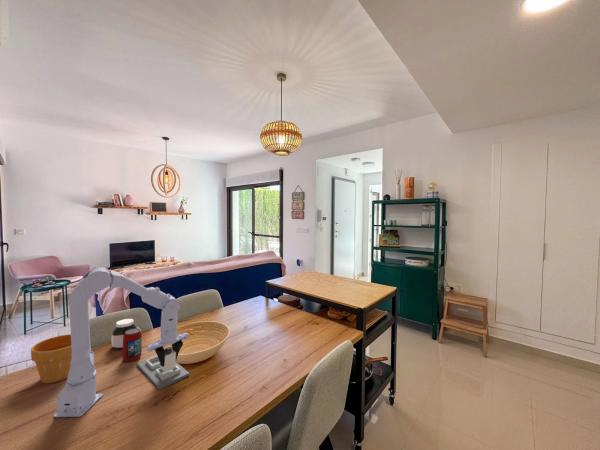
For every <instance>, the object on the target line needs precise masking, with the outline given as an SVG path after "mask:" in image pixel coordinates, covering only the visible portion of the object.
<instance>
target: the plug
mask: <svg viewBox="0 0 600 450" xmlns="http://www.w3.org/2000/svg"><path fill="white" fill-rule="evenodd" d="M164 350H166V352H165V358H164V366H163V367H162V366H161V365H160V368H161V369H162V370H163V371H164V372H166V371H168V370H171V369H173V368H175V367H176V362H177V360H176V352H175V351H174V350H172V346H168V347H165V348H164Z"/></svg>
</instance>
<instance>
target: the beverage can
mask: <svg viewBox="0 0 600 450" xmlns="http://www.w3.org/2000/svg"><path fill="white" fill-rule="evenodd" d="M138 328H139V327H138ZM138 328H134V329H129V330H127V331H126V332H125V334H124V336H123V349H122V360H123V361H124V362H134V361H136V360H138V359H139V358H140V357H141V356H142V347H143V346H142V343H143V342H142V341H143V340H142V339H143V332H142V330H141V328H140V329H138ZM140 330H141V331H140Z"/></svg>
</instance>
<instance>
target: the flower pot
mask: <svg viewBox="0 0 600 450" xmlns="http://www.w3.org/2000/svg"><path fill="white" fill-rule="evenodd" d="M30 358H31V361H32V362H34V363H35V365H36V368H37V372H38V376H39V378H40V381H41V383H42V384H53V383H57V382H60V381H63V380H65V379H67V378H68V373H69V370H70V362H71V359H72V346H71V333H70V334H63V335H58V336H53V337H50V338H47V339H44V340H42V341H39V342H37V343H35V344H34V345H33V346H32V347H31V348H30Z"/></svg>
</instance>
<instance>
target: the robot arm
mask: <svg viewBox="0 0 600 450" xmlns="http://www.w3.org/2000/svg"><path fill="white" fill-rule="evenodd" d="M108 287H109V289H110V290H111V289H116V288H121V289H123V290H126V291H128V292H131V293H133V294H135V295H137V296H139V297H141V301H142V303H145V304H148V305H149V306H151V307H154V308H156V309H158V310H159V309H160V310H161V316H160V338H159V339H158V340H156V341H154V342H153V343H150V344H148V345H147V346H146V347H147V348H146V350H147V351H146V352H147V353H151V352H153V351H154V352H155V353H156V356H158V358H159V362H160V365H161V366H162V367H163V366H164V358H165V352H166V350H165V348H164V347H166V346H170V345H171V347H172V350H174V351H175V352H176V361H177V359H178V356H179V353H180V351H181V349H182V347H183V346H184V342H183V341H184V340H188V339H189V333H187V332H183V333H178V321H179V320H178V317H179V316H178V311H179V310H180V308H181V305H180V303H179V301H178V300H177V298H176V297H174V296H173V295H171V293H165V292H163V291H161V289H160V287H158V286H156V287H153V286H150V287H145V286H144V285H141V284H140V283H139V282H137V281H135V280H133V279H130V278H129V277H128V276H126V275H123V274H122V273H120V272H117V271H115V270H112V269H109V268H107V267H104V266H96V267H93V268H92V269H90V270H89V271H87V272H86V273H84V274H83V276H82V277H81V279H80V280H79V281H78V283H77V284H76V285H75V287H74V288H73V289H72V291H71V292H70V294H69V296H68V306H69V310H68V311H69V322H70V323H69V324H70V334H71V346H72V359H71V362H70V370H69V373H68V377H67V378H66V382H65V383H66V384H65V385H64V387H63V388H62V389H61V390H60V392H58V394H57V396H56V413H54V414H53V417H54V418H70V417H71V418H73V417H75V418H78V417H82V416H83V415H84V414H85V413H86V412H87V411H88V410H89V409H91V407H92V406H93V405H95V403H97V402H98V401H99V400H100V399H101V397H103V393H97V370H96V367H95V360H96V355H95V352H94V351H93V350H92V346H91V345H92V344H91V333H90V313H89V312H90V311H89V300H90V298H92V297H93V296H94V295H95V294H96V293H99V292H101V291H104V290H105V289H107V288H108Z"/></svg>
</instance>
